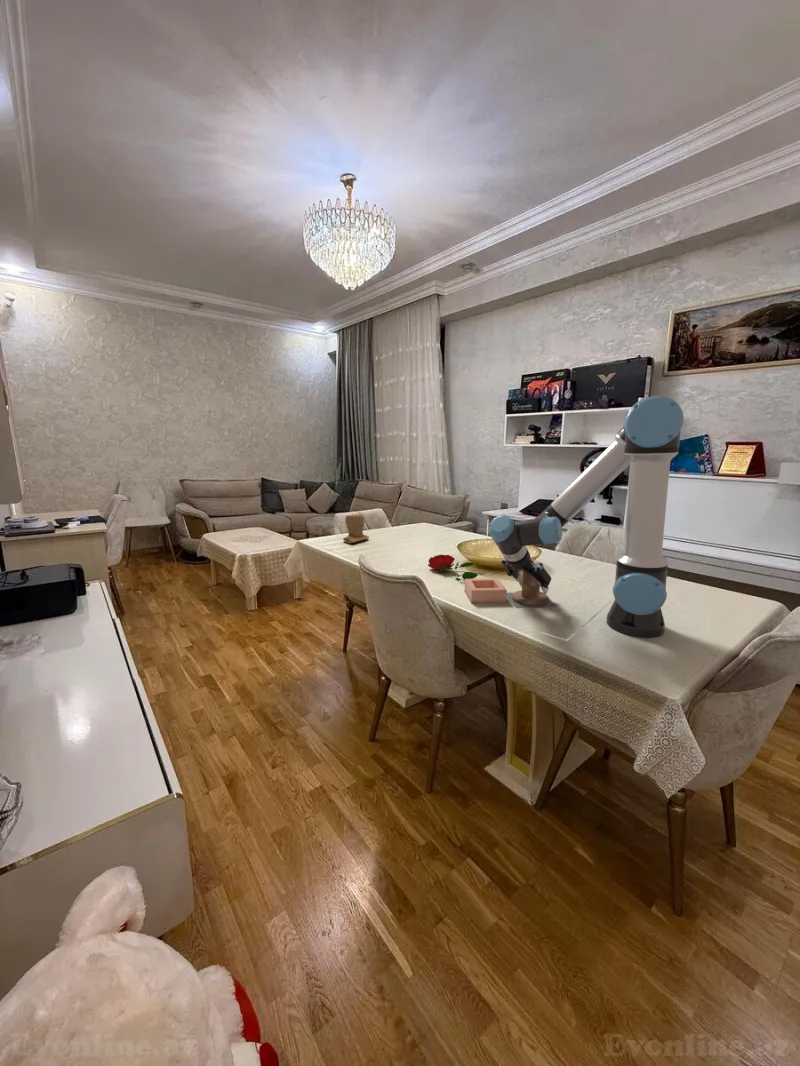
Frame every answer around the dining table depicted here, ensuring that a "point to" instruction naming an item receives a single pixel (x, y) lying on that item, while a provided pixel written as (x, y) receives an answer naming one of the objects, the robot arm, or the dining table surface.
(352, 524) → the wooden stamp
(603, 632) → the dining table surface
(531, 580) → the lid
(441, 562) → the flower
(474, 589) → the dish
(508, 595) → the mat
